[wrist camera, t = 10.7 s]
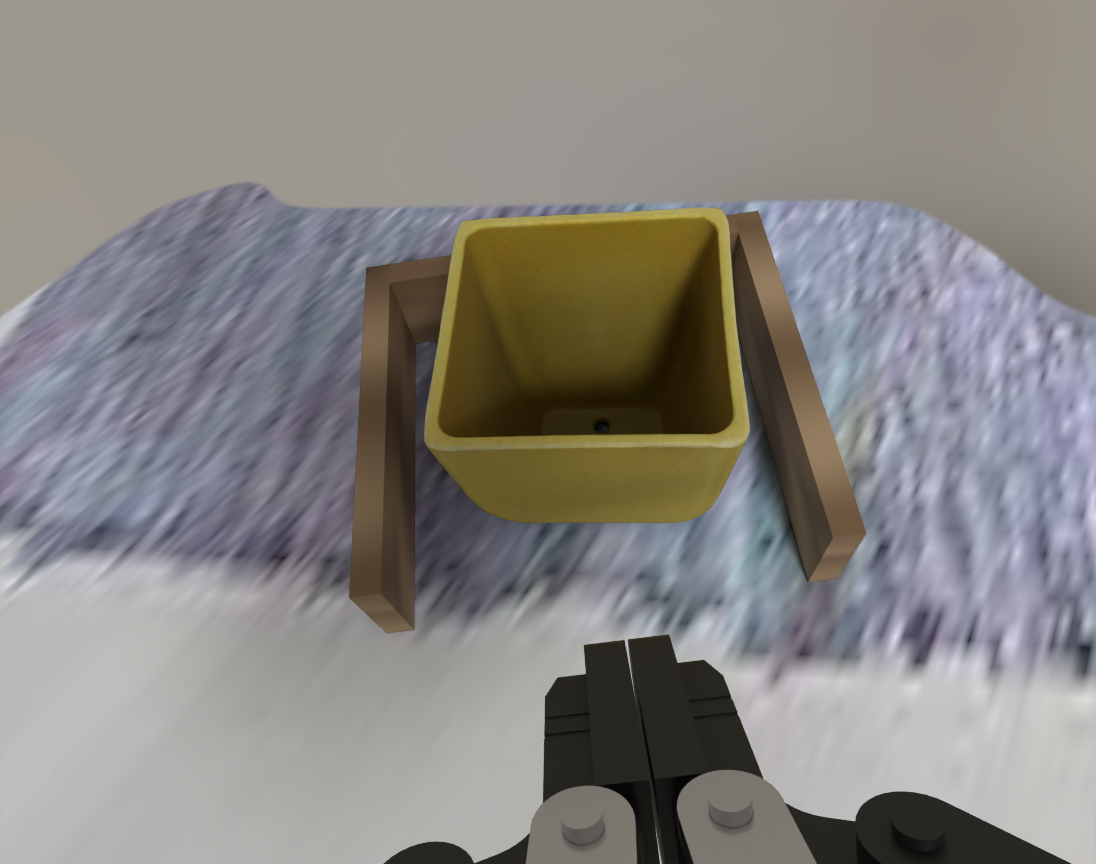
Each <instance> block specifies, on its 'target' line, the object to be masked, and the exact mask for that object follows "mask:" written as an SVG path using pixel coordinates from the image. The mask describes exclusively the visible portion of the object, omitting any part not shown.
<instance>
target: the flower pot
mask: <svg viewBox="0 0 1096 864" xmlns="http://www.w3.org/2000/svg"><path fill="white" fill-rule="evenodd" d="M599 422H606V423H607V424H608V425H609V428H608V430H607V431H605V432H603V433H602V432H597V431H596V430H595V425H596V424H597V423H599ZM749 432H750V423H749V415H748V406H747V399H746V392H745V386H744V379H743V372H742V364H741V356H740V348H739V341H738V333H737V325H736V313H735V302H734V289H733V278H732V265H731V251H730V232H729V224H728V220H727V217H726V215H725V213H724V211H723V210H721V209H719V208H684V209H669V210H648V211H633V212H615V213H594V214H578V215H553V216H534V217H512V218H488V219H478V220H467V221H463V222H462V223H461V224H460V226H459V227H458V229H457V231H456V234H455V238H454V243H453V250H452V255H451V261H450V267H449V274H448V281H447V288H446V294H445V301H444V306H443V312H442V318H441V325H440V333H439V339H438V345H437V351H436V356H435V362H434V369H433V375H432V380H431V385H430V391H429V396H428V402H427V408H426V415H425V425H424V442H425V444H426V446H427V447H428V448H429V450H430V451H431V452H432V453H433V455H434V456H435V457H436V458H437V459H438V461H439V462H440V463H441V464H442V465H443V467H444V468H445V469H446V470H447V472H448V473H449V474H450V475H451V476H452V478H453V479H454V480H455V481H456V482H457V484H458V485H459V486H460V487H461V488H462V490H463V491H464V492H465V493H466V494H467V496H468V497H469V498H470V499H471V500H472V501H473V502H474V503H475V504H476V505H478V506H479V507H480V508H481V509H483V510H484V511H486V512H488V513H489V514H492V515H494V516H496V517H499V518H502V519H506V520H510V521H515V522H523V523H676V522H683V521H688V520H691V519H694V518H696V517H698V516H700V515H702V514H703V513H705V512H706V511H707V510H708V509H710V508H711V506H712V505H713V504H714V503H715V501H716V500H717V498H718V496H719V494H720V493H721V491H722V489H723V487H724V485H725V483H726V481H727V479H728V477H729V475H730V473H731V471H732V469H733V467H734V465H735V463H736V461H737V459H738V456H739V454H740V452H741V450H742V448H743V446H744V444H745V442H746V440H747V438H748V436H749Z"/></svg>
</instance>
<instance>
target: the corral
mask: <svg viewBox="0 0 1096 864" xmlns="http://www.w3.org/2000/svg"><path fill="white" fill-rule="evenodd" d="M726 217H727V220H728V224H729V232H730V251H731V265H732V278H733V289H734V302H735V313H736V325H737V331H738V335H739V338H740V342H741V346H742V349H743V353H744V356H745V360H746V363H747V367H748V370H749V374H750V378H751V381H752V385H753V388H754V392H755V395H756V399H757V402H758V406H759V409H760V413H761V417H762V420H763V424H764V427H765V431H766V434H767V438H768V441H769V445H770V448H771V452H772V456H773V459H774V463H775V466H776V470H777V473H778V477H779V480H780V484H781V488H782V491H783V495H784V498H785V502H786V505H787V509H788V512H789V516H790V519H791V523H792V527H793V530H794V534H795V537H796V541H797V544H798V548H799V551H800V555H801V559H802V562H803V566H804V569H805V573H806V576H807V580H808V582H814V581H822V580H830V579H837V578H838V576H839V575H840V573H841V572H842V570H843V569H844V567H845V566H846V564H847V563H848V561H849V560H850V558H851V557H852V555H853V554H854V552H855V550H856V549H857V547H858V546H859V544H860V543H861V541H862V540H863V538H864V537H865V535H866V531H865V528H864V525H863V522H862V519H861V516H860V513H859V510H858V507H857V504H856V501H855V498H854V495H853V492H852V489H851V486H850V483H849V480H848V477H847V474H846V471H845V468H844V465H843V462H842V459H841V456H840V453H839V450H838V447H837V444H836V441H835V438H834V435H833V432H832V429H831V426H830V423H829V420H828V418H827V415H826V412H825V409H824V406H823V403H822V400H821V397H820V394H819V391H818V388H817V385H816V382H815V379H814V376H813V373H812V370H811V367H810V364H809V361H808V358H807V355H806V352H805V349H804V346H803V343H802V340H801V337H800V334H799V331H798V328H797V325H796V322H795V319H794V316H793V313H792V310H791V307H790V304H789V301H788V298H787V296H786V293H785V290H784V287H783V284H782V281H781V278H780V275H779V272H778V269H777V266H776V263H775V260H774V257H773V254H772V251H771V248H770V245H769V242H768V239H767V236H766V233H765V230H764V227H763V224H762V221H761V218H760V215H759V212H758V211H753V212H747V213H740V214H733V215H726ZM450 261H451V256H444V257H437V258H430V259H423V260H416V261H410V262H403V263H396V264H389V265H382V266H375V267H368V268H366V283H365V303H364V322H363V342H362V361H361V380H360V400H359V419H358V439H357V458H356V477H355V497H354V516H353V535H352V555H351V574H350V594H349V598H350V599H351V600H352V601H353V602H354V603H355V604H356V605H357V606H359V607H360V608H361V609H362V610H363V611H364V612H365V613H366V614H367V615H368V616H369V617H370V618H371V619H372V620H373V621H374V622H375V623H377V624H378V625H379V626H380V627H381V628H382V629H383V630H384V631H385V632H386V633H393V632H402V631H410V630H414V573H415V363H416V343H421V342H428V341H435V340H438V339H439V333H440V325H441V318H442V312H443V306H444V301H445V294H446V288H447V281H448V274H449V267H450Z"/></svg>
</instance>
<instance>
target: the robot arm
mask: <svg viewBox="0 0 1096 864" xmlns="http://www.w3.org/2000/svg"><path fill="white" fill-rule="evenodd" d="M628 647H629V655H630V663H631V671H632V679H633V685H632V679H631V674H630V668H629V663H628V657H627V651H626V646H625V641H624V640H621V641H613V642H605V643H596V644H588V645H584V653H585V667H586V674H584V675H576V676H567V677H559V678H557V679H556V681H555V682H554V684H553V685H552V687H551V689H550V690H549V692H548V693H547V695H546V696H545V731H544V735H545V739H544V782H543V804H542V805H541V806H540V807H539V809H538V810H537V811H536V813H535V815H534V817H533V819H532V823H531V829H530V833H529V834H528V835H527V836H526V837H525V838H524V839H523V840H522V841H520V842H519V843H518V844H516V845H515V846H513V847H512V848H510V849H508V850H506V851H504V852H502V853H500V854H497V855H495V856H492V857H490V858H487V859H485V860H482V861H479V862H477V863H474V862H473V860H472V858H471V857H470V855H469V854H468V853H467V852H466V851H465V850H463V849H462V848H460V847H458V846H456V845H454V844H450V843H446V842H427V843H422V844H418V845H415V846H412V847H409V848H407V849H405V850H403V851H401V852H399V853H397V854H396V855H394V856H392V857H391V858H390V859H389V860H387V861H386V862H385V863H384V864H660V860H659V853H658V845H657V838H658V844H659V850H660V856H661V861H662V864H1071V863H1069V862H1067V861H1065V860H1063V859H1061V858H1059V857H1057V856H1055V855H1053V854H1050V853H1048V852H1046V851H1044V850H1042V849H1040V848H1038V847H1036V846H1034V845H1032V844H1030V843H1028V842H1026V841H1024V840H1022V839H1020V838H1018V837H1016V836H1014V835H1012V834H1010V833H1008V832H1006V831H1004V830H1001V829H999V828H997V827H995V826H993V825H991V824H989V823H987V822H985V821H983V820H981V819H979V818H977V817H975V816H973V815H971V814H969V813H967V812H965V811H963V810H961V809H959V808H957V807H955V806H952V805H950V804H948V803H946V802H944V801H942V800H939V799H937V798H934V797H931V796H928V795H924V794H919V793H914V792H890V793H884V794H881V795H877V796H875V797H873V798H871V799H869V800H868V801H867V802H865V803H864V804H863V805H862V806H861V808H860V809H859V811H858V813H857V815H856V821H847V820H840V819H833V818H826V817H821V816H816V815H812V814H809V813H805V812H803V811H800V810H798V809H796V808H794V807H792V806H790V805H788V804H786V803H785V802H784V800H783V798H782V797H781V795H780V793H779V792H778V791H777V790H776V789H775V788H774V787H773V786H772V785H771V784H770V783H768V782H767V781H766V780H764V779H763V776H762V774H761V771H760V769H759V766H758V764H757V761H756V759H755V756H754V754H753V751H752V748H751V746H750V743H749V741H748V738H747V736H746V733H745V731H744V728H743V725H742V723H741V720H740V718H739V716H738V714H737V710H736V708H735V705H734V703H733V700H732V699H731V695H730V692H729V690H728V687H727V685H726V682H725V680H724V677H723V675H722V674H720V673H719V672H718V671H717V670H716V669H714V668H713V667H712V666H711V665H710V664H708V663H707V662H706V661H705V660H699V661H691V662H682V663H677V660H676V657H675V653H674V650H673V646H672V643H671V640H670V636H669V635H661V636H653V637H644V638H636V639H628ZM633 686H634V691H633ZM634 694H635V696H634ZM655 827H656V829H655ZM656 833H657V837H656Z"/></svg>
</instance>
